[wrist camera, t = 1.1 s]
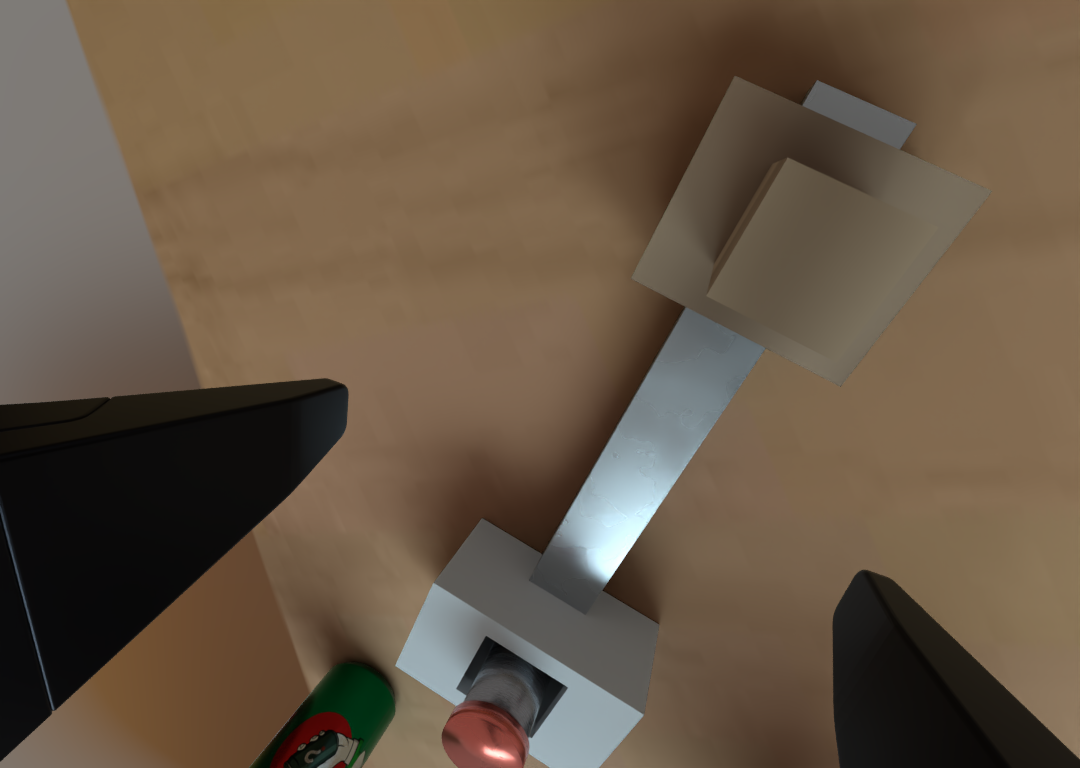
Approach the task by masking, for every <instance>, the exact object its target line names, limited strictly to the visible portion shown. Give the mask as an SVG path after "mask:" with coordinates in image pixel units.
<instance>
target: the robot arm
mask: <svg viewBox="0 0 1080 768" xmlns="http://www.w3.org/2000/svg"><path fill="white" fill-rule="evenodd" d="M347 411H348V389H347V387H346V386H345V385H344V384H342V383H339V382H336V381H333V380H330V379H326V378H323V379H312V380H300V381H289V382H277V383H265V384H254V385H242V386H231V387H219V388H208V389H197V390H186V391H173V392H162V393H150V394H139V395H128V396H115V397H112V398H111V399H110V398H108V397H103V398H91V399H80V400H68V401H55V402H54V401H53V402H40V403H24V404H7V405H0V761H2V760H3V759H4V758H5V757H6V756H7V755H8V754H9V753H10V752H11V751H12V750H13V749H15V748H16V747H17V746H18V745H19V744H20V743H21V742H22V741H23V740H24V739H25V738H26V737H27V736H29V735H30V734H31V733H32V732H33V731H34V730H35V729H36V728H37V727H38V726H40V725H41V724H42V723H43V722H44V721H45V720H46V719H47V718H48V717H49V716H50V715H51V714H52V711H55V710H56V709H57V708H58V707H60V706H61V705H62V704H63V703H64V702H65V701H66V700H67V699H68V698H69V697H71V696H72V695H73V694H74V693H75V692H76V691H77V690H78V689H79V688H80V687H81V686H83V685H84V684H85V683H86V682H87V681H88V680H89V679H90V678H91V677H92V676H93V675H94V674H96V673H97V672H98V671H99V670H100V669H101V668H102V667H103V666H104V665H105V664H106V663H107V662H109V661H110V660H111V659H112V658H113V657H114V656H115V655H116V654H117V653H118V652H119V651H120V650H122V649H123V648H124V647H125V646H126V645H127V644H128V643H129V642H130V641H131V640H133V639H134V638H135V637H136V636H137V635H138V634H139V633H140V632H141V631H142V630H143V629H144V628H146V627H147V626H148V625H149V624H150V623H151V622H152V621H153V620H154V619H155V618H156V617H157V616H159V614H161V613H162V612H163V611H164V610H165V609H166V608H167V607H168V606H170V605H171V604H172V603H173V602H174V601H175V600H176V599H177V598H178V597H179V596H180V595H181V594H183V592H185V591H186V590H187V589H188V588H189V587H190V586H191V585H192V584H193V583H194V582H196V581H197V580H198V579H199V578H200V577H201V576H202V575H203V574H204V573H205V572H207V571H208V570H209V569H210V568H211V567H212V566H213V565H214V564H215V563H216V562H217V561H218V560H220V559H221V558H222V557H223V556H224V555H225V554H226V553H227V552H228V551H229V550H230V549H232V548H233V547H234V546H235V545H236V544H237V543H238V542H239V541H240V540H241V539H242V538H243V537H245V535H247V534H248V533H249V532H250V531H251V530H252V529H253V528H254V527H255V526H257V525H258V524H259V523H260V522H261V521H262V520H263V519H264V518H265V517H266V516H267V515H268V514H270V513H271V512H272V511H273V510H274V509H275V508H276V507H277V506H278V505H279V504H280V503H282V502H283V501H284V500H285V499H286V498H287V497H288V496H289V495H290V494H291V493H292V492H293V491H294V490H295V488H296V487H297V486H298V485H299V484H300V483H301V482H302V481H303V480H304V479H305V477H306V476H307V475H308V474H309V473H310V472H311V471H312V470H313V468H314V467H315V466H316V465H317V464H318V463H319V462H320V461H321V459H322V458H323V457H324V456H325V455H326V454H327V453H328V451H329V450H330V449H331V448H332V447H333V446H334V445H335V444H336V442H337V441H338V440H339V439H340V438H341V436H342V435H343V433H344V431H345V429H346V425H347ZM833 705H834V722H835V732H836V740H837V748H838V755H839V763H840V768H1080V759H1079V758H1078V757H1077V756H1076V755H1075V754H1074V753H1072V752H1071V751H1070V750H1069V749H1068V748H1067V747H1066V746H1065V745H1064V744H1063V743H1062V742H1061V741H1060V740H1059V739H1058V738H1057V737H1056V736H1055V735H1054V734H1053V733H1052V732H1051V731H1050V730H1049V729H1047V728H1046V727H1045V726H1044V725H1043V724H1042V723H1041V722H1040V721H1039V720H1038V719H1037V718H1036V717H1035V716H1034V715H1033V714H1032V713H1031V712H1030V711H1029V710H1028V709H1027V708H1026V707H1025V706H1024V705H1023V704H1021V703H1020V702H1019V701H1018V700H1017V699H1016V698H1015V697H1014V696H1013V695H1012V694H1011V693H1010V692H1009V691H1008V690H1007V689H1006V688H1005V687H1004V686H1003V685H1002V684H1001V683H1000V682H999V681H998V680H996V679H995V678H994V677H993V676H992V675H991V674H990V673H989V672H988V671H987V670H986V669H985V668H984V667H983V666H982V665H981V664H980V663H979V662H978V661H977V660H976V659H975V658H974V657H973V656H972V655H970V654H969V653H968V652H967V651H966V650H965V649H964V648H963V647H962V646H961V645H960V644H959V643H958V642H957V641H956V640H955V639H954V638H953V637H952V636H951V635H950V634H949V633H948V632H947V631H945V630H944V629H943V628H942V627H941V626H940V625H939V624H938V623H937V622H936V621H935V620H934V619H933V618H932V617H931V616H930V615H929V614H928V613H927V612H926V611H925V610H924V609H923V608H922V607H921V606H919V605H918V604H917V603H916V602H915V601H914V600H913V599H912V598H911V597H910V596H909V595H908V594H907V593H906V592H905V591H904V590H903V589H902V588H901V587H900V586H899V585H898V584H897V583H896V582H894V581H893V580H892V579H890V578H888V577H885V576H883V575H880V574H877V573H874V572H871V571H868V570H861V571H859V572H858V573H857V574H856V575H855V576H854V578H853V580H852V581H851V583H850V585H849V587H848V588H847V590H846V592H845V593H844V595H843V597H842V599H841V600H840V602H839V604H838V605H837V607H836V610H835V612H834V616H833Z"/></svg>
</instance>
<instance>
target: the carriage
mask: <svg viewBox="0 0 1080 768" xmlns="http://www.w3.org/2000/svg"><path fill="white" fill-rule="evenodd" d="M991 192H992V191H991V190H989V189H986V188H984V187H982V186H980V185H978V184H975V183H973V182H971V181H969V180H966V179H964V178H962V177H960V176H957V175H955V174H953V173H951V172H949V171H946V170H944V169H942V168H940V167H937V166H935V165H933V164H931V163H929V162H926V161H924V160H922V159H920V158H917V157H915V156H913V155H911V154H908V153H906V152H904V151H902V150H900V149H897V148H895V147H893V146H891V145H888V144H886V143H884V142H882V141H880V140H877V139H875V138H873V137H871V136H868V135H866V134H864V133H862V132H859V131H857V130H855V129H853V128H851V127H848V126H846V125H844V124H842V123H839V122H837V121H835V120H833V119H831V118H828V117H826V116H824V115H822V114H819V113H817V112H815V111H813V110H810V109H808V108H806V107H804V106H802V105H799V104H797V103H795V102H793V101H790V100H788V99H786V98H784V97H782V96H779V95H777V94H775V93H773V92H770V91H768V90H766V89H764V88H761V87H759V86H757V85H755V84H753V83H750V82H748V81H746V80H744V79H741V78H739V77H737V76H734V78H733V80H732V82H731V84H730V86H729V88H728V90H727V92H726V94H725V96H724V98H723V100H722V102H721V104H720V105H719V107H718V109H717V111H716V113H715V115H714V117H713V119H712V121H711V123H710V125H709V127H708V129H707V131H706V133H705V135H704V137H703V139H702V141H701V143H700V145H699V146H698V148H697V150H696V152H695V154H694V156H693V158H692V160H691V162H690V164H689V166H688V168H687V170H686V172H685V174H684V176H683V178H682V180H681V182H680V184H679V186H678V187H677V189H676V191H675V193H674V195H673V197H672V199H671V201H670V203H669V205H668V207H667V209H666V211H665V213H664V215H663V217H662V219H661V221H660V223H659V225H658V227H657V228H656V230H655V232H654V234H653V236H652V238H651V240H650V242H649V244H648V246H647V248H646V250H645V252H644V254H643V256H642V258H641V260H640V262H639V264H638V266H637V268H636V269H635V271H634V273H633V275H632V277H631V279H632V280H634V281H636V282H638V283H640V284H642V285H644V286H646V287H648V288H650V289H652V290H654V291H656V292H658V293H660V294H662V295H663V296H665V297H667V298H669V299H671V300H673V301H675V302H677V303H679V304H681V305H683V306H685V307H687V308H689V309H691V310H693V311H695V312H696V313H698V314H700V315H702V316H704V317H706V318H708V319H710V320H712V321H714V322H716V323H718V324H720V325H722V326H724V327H726V328H728V329H729V330H731V331H733V332H735V333H737V334H739V335H741V336H743V337H745V338H747V339H749V340H751V341H753V342H755V343H757V344H759V345H761V346H763V347H764V348H766V349H768V350H770V351H772V352H774V353H776V354H778V355H780V356H782V357H784V358H786V359H788V360H790V361H792V362H794V363H796V364H797V365H799V366H801V367H803V368H805V369H807V370H809V371H811V372H813V373H815V374H817V375H819V376H821V377H823V378H825V379H827V380H829V381H830V382H832V383H834V384H836V385H838V386H840V387H841V386H842V384H843V383H844V382H845V380H846V379H847V378H848V377H849V375H850V374H851V373H852V371H853V370H854V369H855V368H856V366H857V365H858V364H859V362H860V361H861V360H862V359H863V357H864V356H865V355H866V353H867V352H868V351H869V350H870V348H871V347H872V346H873V344H874V343H875V342H876V340H877V339H878V338H879V337H880V335H881V334H882V333H883V331H884V330H885V329H886V328H887V326H888V325H889V324H890V322H891V321H892V320H893V319H894V317H895V316H896V315H897V313H898V312H899V311H900V310H901V308H902V307H903V306H904V304H905V303H906V302H907V300H908V299H909V298H910V297H911V295H912V294H913V293H914V291H915V290H916V289H917V288H918V286H919V285H920V284H921V282H922V281H923V280H924V279H925V277H926V276H927V275H928V273H929V272H930V271H931V270H932V268H933V267H934V266H935V264H936V263H937V262H938V260H939V259H940V258H941V257H942V255H943V254H944V253H945V251H946V250H947V249H948V248H949V246H950V245H951V244H952V242H953V241H954V240H955V239H956V237H957V236H958V235H959V233H960V232H961V231H962V230H963V228H964V227H965V226H966V224H967V223H968V222H969V220H970V219H971V218H972V217H973V215H974V214H975V213H976V211H977V210H978V209H979V208H980V206H981V205H982V204H983V202H984V201H985V200H986V199H987V197H988V196H989V195H990V193H991Z"/></svg>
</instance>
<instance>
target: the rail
mask: <svg viewBox="0 0 1080 768" xmlns="http://www.w3.org/2000/svg"><path fill="white" fill-rule="evenodd" d="M801 105H802V106H804V107H806V108H808V109H810V110H813V111H815V112H817V113H819V114H822V115H824V116H826V117H828V118H831V119H833V120H835V121H837V122H839V123H842V124H844V125H846V126H848V127H851V128H853V129H855V130H857V131H859V132H862V133H864V134H866V135H868V136H871V137H873V138H875V139H877V140H880V141H882V142H884V143H886V144H888V145H891V146H893V147H895V148H897V149H900V148H901V147H902V145H903V144H904V142H905V141H906V139H907V138H908V136H909V135H910V133H911V132H912V131H913V129H914V128H915V126H916V125H917V124H916V123H913V122H911V121H909V120H906V119H904V118H902V117H900V116H897V115H895V114H893V113H891V112H888V111H886V110H884V109H881V108H879V107H877V106H875V105H872V104H870V103H868V102H866V101H863V100H861V99H859V98H857V97H854V96H852V95H850V94H847V93H845V92H843V91H841V90H838V89H836V88H834V87H832V86H829V85H827V84H825V83H823V82H820V81H818V80H817V81H816V82H815V83H814V85H813V86H812V87H811V88H810V89H809V91H808V93H807V94H806V96H805V98H804V100H803V101H802V103H801ZM764 350H765V348H764V347H763V346H761V345H759V344H757V343H755V342H753V341H751V340H749V339H747V338H745V337H743V336H741V335H739V334H737V333H735V332H733V331H731V330H729V329H728V328H726V327H724V326H722V325H720V324H718V323H716V322H714V321H712V320H710V319H708V318H706V317H704V316H702V315H700V314H698V313H696V312H695V311H693V310H691V309H689V308H687V307H684V308H683V310H682V312H681V314H680V315H679V317H678V319H677V321H676V322H675V324H674V326H673V328H672V329H671V331H670V333H669V334H668V336H667V338H666V340H665V341H664V343H663V345H662V347H661V348H660V350H659V352H658V354H657V355H656V357H655V359H654V361H653V362H652V364H651V366H650V368H649V369H648V371H647V373H646V374H645V376H644V378H643V380H642V381H641V383H640V385H639V387H638V388H637V390H636V392H635V394H634V395H633V397H632V399H631V401H630V402H629V404H628V406H627V408H626V409H625V411H624V413H623V415H622V416H621V418H620V420H619V421H618V423H617V425H616V427H615V428H614V430H613V432H612V434H611V435H610V437H609V439H608V441H607V442H606V444H605V446H604V448H603V449H602V451H601V453H600V455H599V456H598V458H597V460H596V462H595V463H594V465H593V467H592V468H591V470H590V472H589V474H588V475H587V477H586V479H585V481H584V482H583V484H582V486H581V488H580V489H579V491H578V493H577V495H576V496H575V498H574V500H573V502H572V503H571V505H570V507H569V508H568V510H567V512H566V514H565V515H564V517H563V519H562V521H561V522H560V524H559V526H558V528H557V529H556V531H555V533H554V535H553V536H552V538H551V540H550V542H549V543H548V545H547V547H546V549H545V550H544V552H543V554H542V556H541V558H540V560H539V561H538V563H537V565H536V567H535V569H534V571H533V573H532V575H531V577H530V579H529V581H530V582H532V583H534V584H535V585H537V586H539V587H540V588H542V589H544V590H545V591H547V592H548V593H550V594H552V595H553V596H555V597H557V598H558V599H560V600H562V601H563V602H565V603H566V604H568V605H570V606H571V607H573V608H575V609H576V610H578V611H580V612H581V613H583V614H584V615H586V614H587V612H588V611H589V609H590V608H591V606H592V605H593V603H594V602H595V600H596V599H597V597H598V596H599V594H600V593H601V591H602V590H603V588H604V587H605V585H606V584H607V582H608V581H609V580H610V578H611V577H612V575H613V574H614V572H615V571H616V569H617V568H618V566H619V565H620V563H621V562H622V560H623V559H624V557H625V556H626V554H627V553H628V551H629V550H630V548H631V547H632V545H633V544H634V542H635V541H636V540H637V538H638V537H639V535H640V534H641V532H642V531H643V529H644V528H645V526H646V525H647V523H648V522H649V520H650V519H651V517H652V516H653V514H654V513H655V511H656V510H657V508H658V507H659V505H660V504H661V502H662V501H663V500H664V498H665V497H666V495H667V494H668V492H669V491H670V489H671V488H672V486H673V485H674V483H675V482H676V480H677V479H678V477H679V476H680V474H681V473H682V471H683V470H684V468H685V467H686V465H687V464H688V462H689V461H690V459H691V458H692V457H693V455H694V454H695V452H696V451H697V449H698V448H699V446H700V445H701V443H702V442H703V440H704V439H705V437H706V436H707V434H708V433H709V431H710V430H711V428H712V427H713V425H714V424H715V422H716V421H717V419H718V418H719V417H720V415H721V414H722V412H723V411H724V409H725V408H726V406H727V405H728V403H729V402H730V400H731V399H732V397H733V396H734V394H735V393H736V391H737V390H738V388H739V387H740V385H741V384H742V382H743V381H744V379H745V378H746V377H747V375H748V374H749V372H750V371H751V369H752V368H753V366H754V365H755V363H756V362H757V360H758V359H759V357H760V356H761V354H762V353H763V351H764Z"/></svg>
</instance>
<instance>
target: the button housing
mask: <svg viewBox="0 0 1080 768" xmlns="http://www.w3.org/2000/svg"><path fill="white" fill-rule="evenodd" d="M541 556H542V554H541V553H539V552H538V551H536V550H534V549H533V548H531V547H529V546H528V545H526V544H524V543H523V542H521V541H519V540H518V539H516V538H514V537H513V536H511V535H509V534H508V533H506V532H504V531H503V530H501V529H499V528H498V527H496V526H494V525H493V524H491V523H489V522H488V521H486V520H484V519H483V518H482V519H481V520H480V521H479V523H478V524H477V525H476V527H475V528H474V529H473V531H472V532H471V533H470V535H469V536H468V537H467V539H466V540H465V541H464V543H463V544H462V545H461V547H460V548H459V550H458V551H457V552H456V554H455V555H454V556H453V558H452V559H451V560H450V562H449V563H448V564H447V566H446V567H445V568H444V570H443V571H442V572H441V574H440V575H439V576H438V578H437V579H436V580H435V582H434V583H433V585H432V587H431V590H430V592H429V594H428V596H427V598H426V600H425V603H424V605H423V607H422V609H421V611H420V613H419V616H418V618H417V620H416V622H415V624H414V626H413V629H412V631H411V633H410V635H409V637H408V639H407V642H406V644H405V646H404V648H403V650H402V652H401V655H400V657H399V659H398V661H397V663H396V665H395V666H396V667H398V668H399V669H401V670H403V671H404V672H406V673H407V674H409V675H410V676H412V677H413V678H415V679H416V680H418V681H419V682H421V683H422V684H424V685H425V686H427V687H428V688H430V689H431V690H433V691H434V692H436V693H437V694H439V695H441V696H442V697H444V698H445V699H447V700H448V701H450V702H451V703H453V704H454V705H456V706H457V705H459V704H460V703H462V702H463V701H464V700H465V698H466V696H467V694H468V692H469V690H470V688H471V686H472V684H473V682H474V680H475V678H476V676H477V675H478V673H479V671H480V669H481V667H482V665H483V663H484V661H485V659H486V657H487V655H488V653H489V651H490V650H491V648H492V646H493V644H494V642H497V643H499V644H500V645H502V646H503V647H505V648H506V649H508V650H510V651H511V652H513V653H514V654H516V655H518V656H519V657H521V658H522V659H524V660H525V661H527V662H529V663H530V664H532V665H533V666H535V667H536V668H538V669H540V670H541V671H543V672H544V673H546V674H548V675H549V676H551V679H550V681H549V684H548V687H547V690H546V692H545V695H544V698H543V700H542V703H541V706H540V708H539V711H538V714H537V717H536V719H535V722H534V725H533V727H532V730H531V733H530V736H529V738H528V740H529V754H530V755H532V756H533V757H535V758H536V759H538V760H539V761H541V762H542V763H544V764H545V765H547V766H548V767H550V768H599V767H600V766H601V765H602V763H603V762H604V761H605V760H606V759H607V758H608V756H609V755H610V754H611V753H612V752H613V751H614V749H615V748H616V747H617V746H618V745H619V744H620V742H621V741H622V740H623V739H624V738H625V737H626V735H627V734H628V733H629V732H630V731H631V730H632V728H633V727H634V726H635V725H636V724H637V723H638V722H639V720H640V719H641V718H642V717H643V716H644V713H645V707H646V701H647V695H648V689H649V683H650V677H651V671H652V665H653V660H654V654H655V648H656V642H657V636H658V630H659V624H657V623H656V622H654V621H652V620H651V619H649V618H647V617H646V616H644V615H642V614H641V613H639V612H637V611H636V610H634V609H632V608H631V607H629V606H627V605H626V604H624V603H622V602H621V601H619V600H617V599H616V598H614V597H612V596H611V595H609V594H607V593H606V592H604V591H601V593H600V594H599V596H598V597H597V599H596V600H595V602H594V603H593V605H592V606H591V608H590V609H589V611H588V612H587V614H586V615H584V614H583V613H581V612H580V611H578V610H576V609H575V608H573V607H571V606H570V605H568V604H566V603H565V602H563V601H562V600H560V599H558V598H557V597H555V596H553V595H552V594H550V593H548V592H547V591H545V590H544V589H542V588H540V587H539V586H537V585H535V584H534V583H532V582H530V581H529V579H530V577H531V575H532V573H533V571H534V569H535V567H536V565H537V563H538V561H539V560H540V558H541Z"/></svg>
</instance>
